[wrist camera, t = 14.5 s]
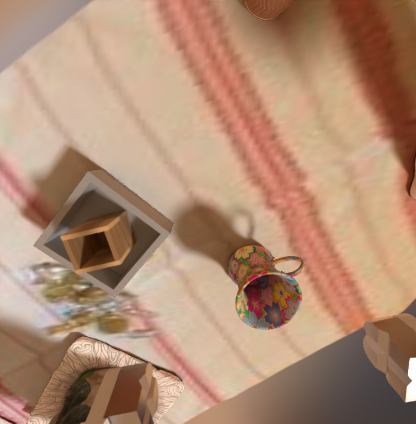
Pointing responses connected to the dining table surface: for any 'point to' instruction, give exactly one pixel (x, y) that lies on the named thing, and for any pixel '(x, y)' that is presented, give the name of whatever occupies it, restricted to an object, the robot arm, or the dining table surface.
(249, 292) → the mug
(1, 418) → the dessert
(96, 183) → the grey crate
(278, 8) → the coffee cup
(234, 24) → the dining table surface
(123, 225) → the square wooden cup
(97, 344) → the cookie jar
